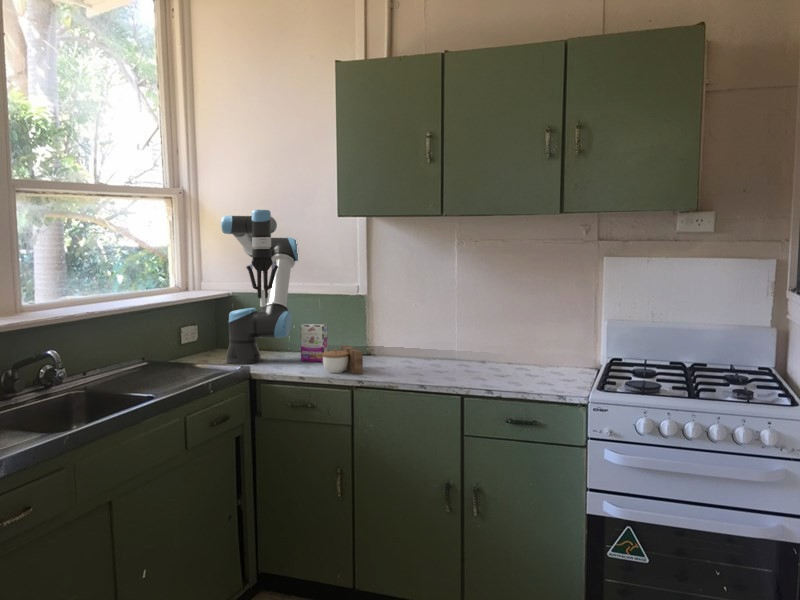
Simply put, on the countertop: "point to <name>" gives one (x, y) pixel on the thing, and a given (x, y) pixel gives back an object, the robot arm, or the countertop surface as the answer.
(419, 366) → the countertop surface
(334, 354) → the lidded jar
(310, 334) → the candy bar box
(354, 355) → the board
